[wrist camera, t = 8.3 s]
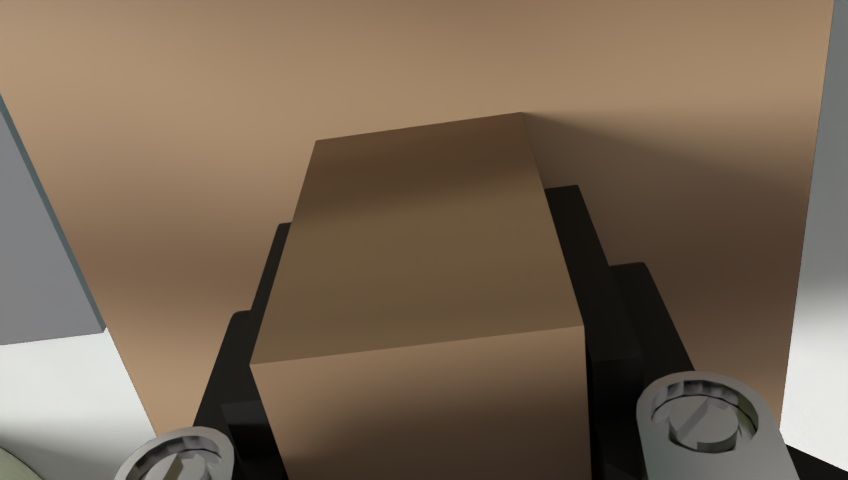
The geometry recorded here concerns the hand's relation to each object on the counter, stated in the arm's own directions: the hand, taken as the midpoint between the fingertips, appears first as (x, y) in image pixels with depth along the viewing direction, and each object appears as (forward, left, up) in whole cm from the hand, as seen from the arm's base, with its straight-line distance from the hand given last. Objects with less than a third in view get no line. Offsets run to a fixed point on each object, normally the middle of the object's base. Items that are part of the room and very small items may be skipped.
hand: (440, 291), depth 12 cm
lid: (0, 0, -2) cm, 2 cm away
